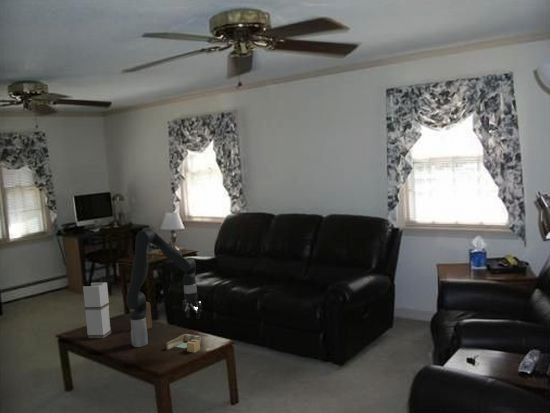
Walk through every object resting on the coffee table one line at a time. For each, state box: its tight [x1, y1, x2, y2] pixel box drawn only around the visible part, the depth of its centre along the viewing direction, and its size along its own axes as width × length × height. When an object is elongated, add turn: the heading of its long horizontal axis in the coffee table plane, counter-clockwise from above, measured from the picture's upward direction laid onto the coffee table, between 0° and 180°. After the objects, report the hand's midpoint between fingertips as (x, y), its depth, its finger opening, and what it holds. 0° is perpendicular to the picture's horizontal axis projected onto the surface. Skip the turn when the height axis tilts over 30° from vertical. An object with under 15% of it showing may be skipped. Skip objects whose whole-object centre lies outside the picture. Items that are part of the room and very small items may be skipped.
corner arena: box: [165, 333, 202, 350], centre depth 303 cm, size 13×17×4 cm
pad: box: [174, 341, 187, 349], centre depth 303 cm, size 8×8×1 cm
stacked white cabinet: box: [82, 282, 112, 339], centre depth 332 cm, size 11×11×35 cm
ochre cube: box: [186, 339, 201, 353], centre depth 294 cm, size 6×6×6 cm
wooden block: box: [146, 301, 153, 330], centre depth 340 cm, size 9×4×18 cm, turn 131°
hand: (193, 317), depth 295 cm, fingers open, 8 cm apart
